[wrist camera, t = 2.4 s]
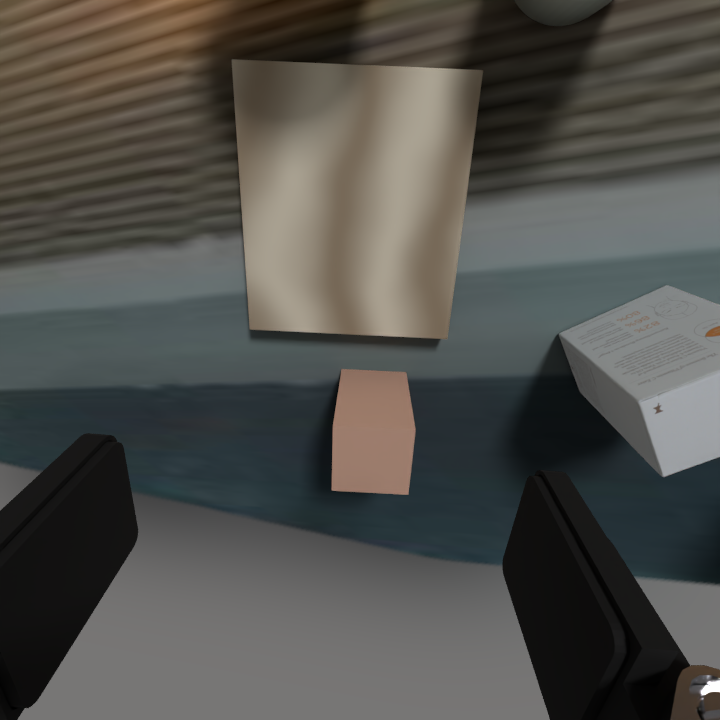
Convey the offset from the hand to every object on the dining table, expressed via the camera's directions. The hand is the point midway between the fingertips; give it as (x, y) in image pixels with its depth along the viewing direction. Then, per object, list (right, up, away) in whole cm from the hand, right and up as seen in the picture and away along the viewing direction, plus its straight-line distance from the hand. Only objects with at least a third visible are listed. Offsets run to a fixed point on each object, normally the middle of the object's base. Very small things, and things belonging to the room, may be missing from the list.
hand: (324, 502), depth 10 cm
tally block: (+2, 0, +24) cm, 24 cm away
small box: (+20, +5, +22) cm, 30 cm away
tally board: (0, +13, +18) cm, 23 cm away
